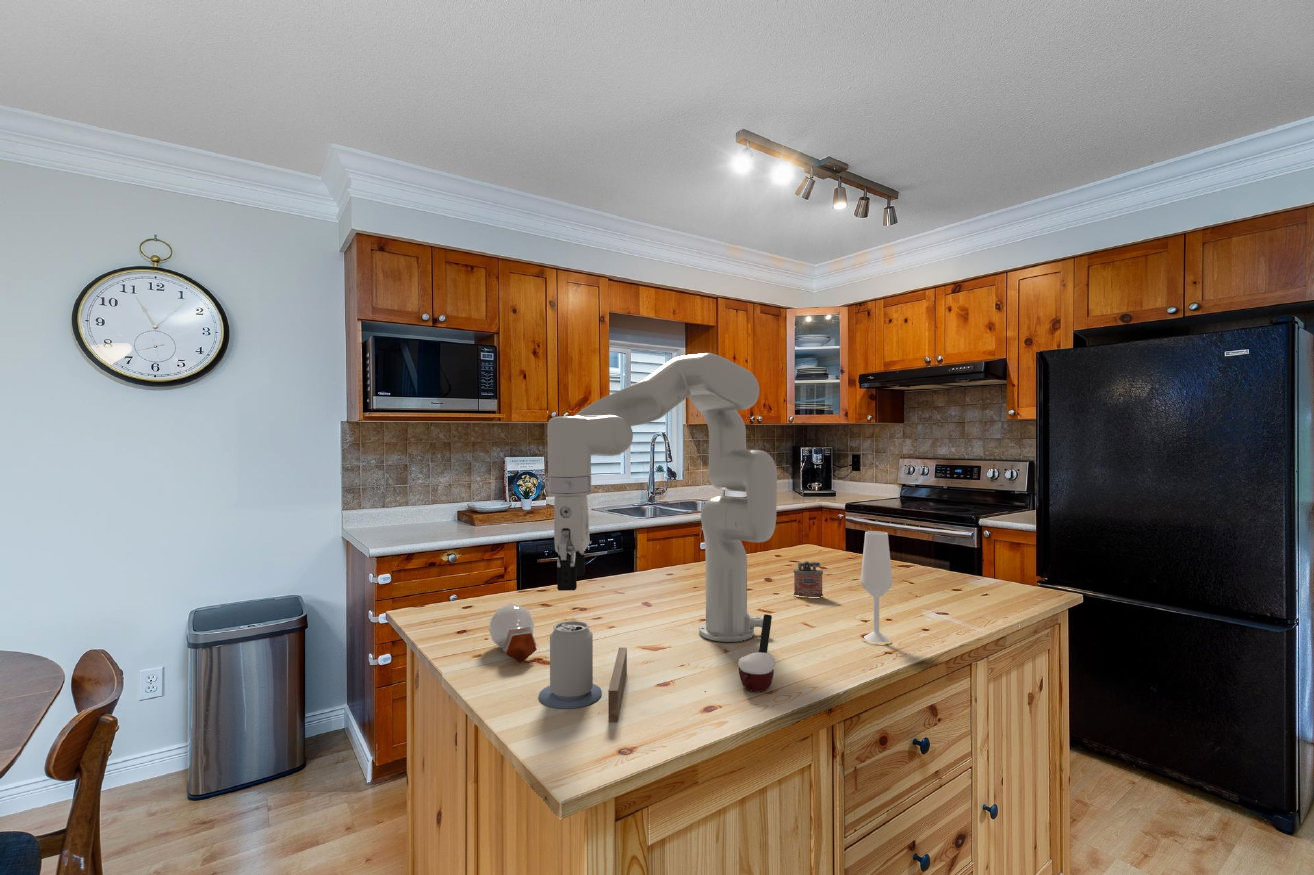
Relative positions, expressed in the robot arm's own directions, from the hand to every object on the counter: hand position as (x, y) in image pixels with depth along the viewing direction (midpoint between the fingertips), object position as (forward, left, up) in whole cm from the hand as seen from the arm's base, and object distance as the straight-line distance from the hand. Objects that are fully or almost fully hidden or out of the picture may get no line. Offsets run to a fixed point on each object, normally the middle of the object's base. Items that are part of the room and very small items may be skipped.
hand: (571, 582), depth 110 cm
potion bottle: (+16, -21, -20) cm, 33 cm away
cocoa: (-33, -4, -20) cm, 39 cm away
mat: (0, 0, -20) cm, 20 cm away
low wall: (-8, 0, -20) cm, 21 cm away
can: (0, 0, -20) cm, 20 cm away
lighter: (-56, -67, -20) cm, 90 cm away
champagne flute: (-63, -30, -20) cm, 73 cm away
